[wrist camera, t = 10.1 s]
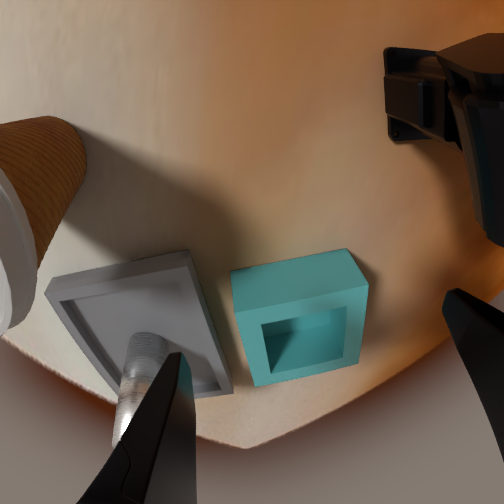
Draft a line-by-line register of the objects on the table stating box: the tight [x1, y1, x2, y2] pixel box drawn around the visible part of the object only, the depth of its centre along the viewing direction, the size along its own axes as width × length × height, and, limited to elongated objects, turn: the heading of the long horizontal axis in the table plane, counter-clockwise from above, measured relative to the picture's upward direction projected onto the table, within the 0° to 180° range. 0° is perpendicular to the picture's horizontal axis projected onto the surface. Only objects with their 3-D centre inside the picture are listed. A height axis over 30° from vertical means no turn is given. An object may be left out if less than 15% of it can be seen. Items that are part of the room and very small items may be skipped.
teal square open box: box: [230, 248, 369, 387], centre depth 25 cm, size 9×9×4 cm
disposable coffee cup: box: [0, 116, 87, 337], centre depth 12 cm, size 10×10×12 cm
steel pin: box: [112, 332, 169, 448], centre depth 22 cm, size 4×4×10 cm
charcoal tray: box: [44, 250, 234, 399], centre depth 26 cm, size 12×16×2 cm
